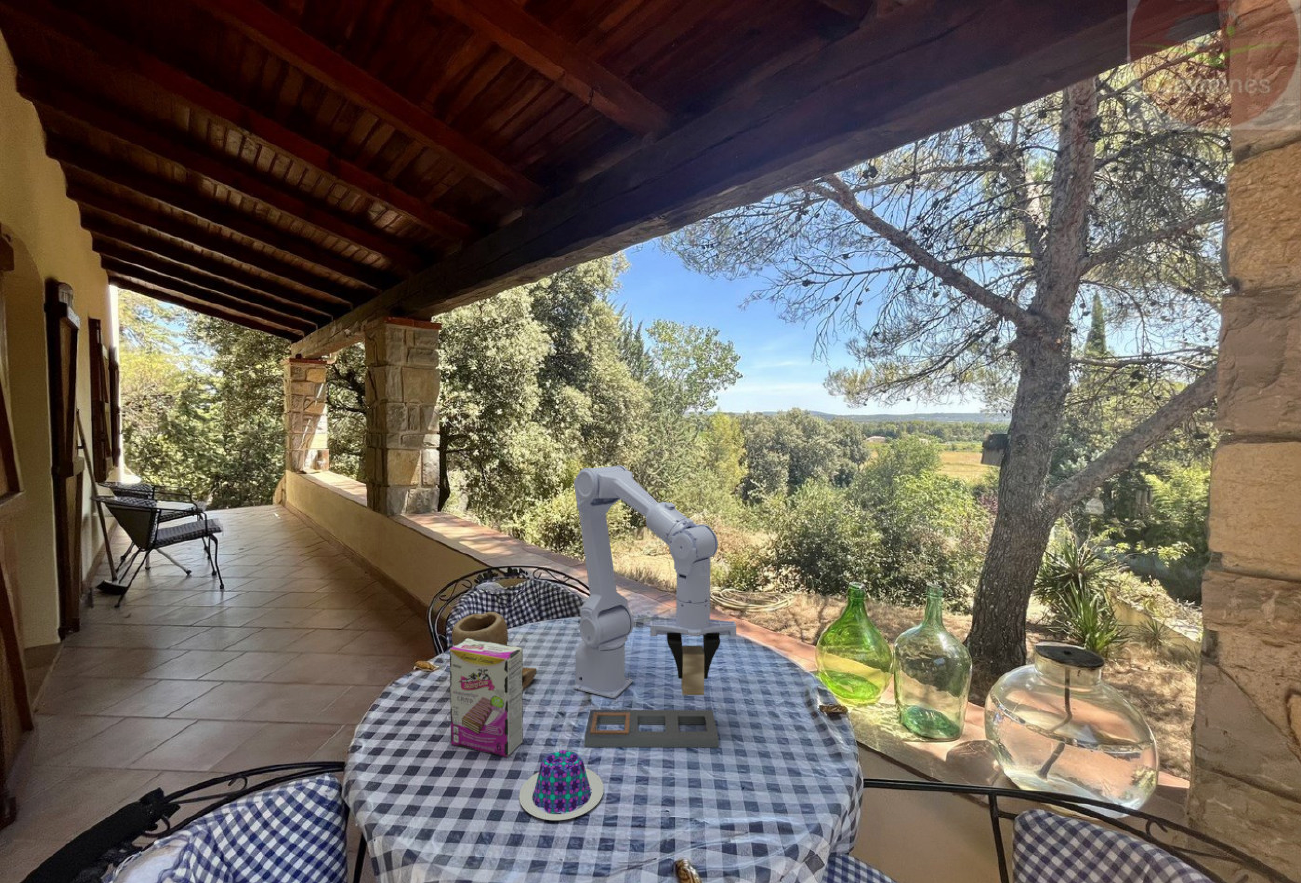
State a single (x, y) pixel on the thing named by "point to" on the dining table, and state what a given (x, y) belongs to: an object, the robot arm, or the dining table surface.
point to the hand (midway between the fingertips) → (692, 676)
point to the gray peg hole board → (651, 738)
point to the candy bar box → (486, 696)
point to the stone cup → (487, 634)
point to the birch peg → (692, 670)
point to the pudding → (561, 787)
